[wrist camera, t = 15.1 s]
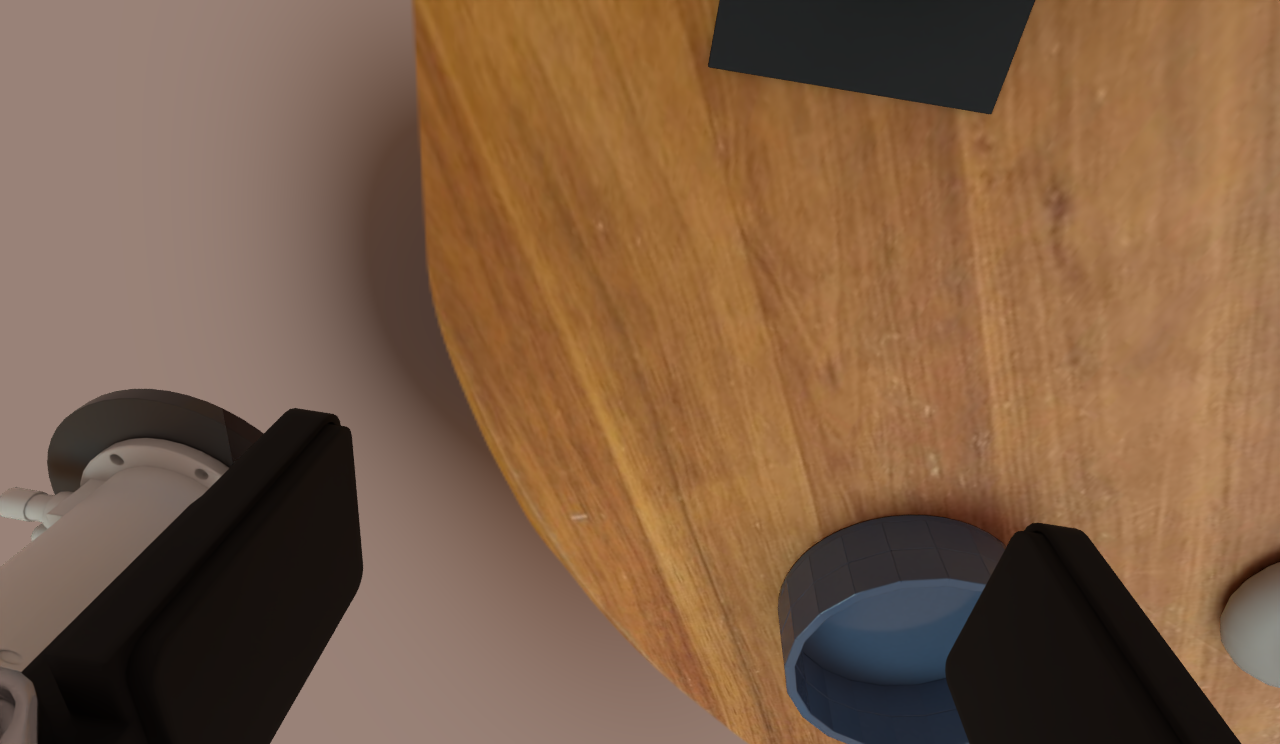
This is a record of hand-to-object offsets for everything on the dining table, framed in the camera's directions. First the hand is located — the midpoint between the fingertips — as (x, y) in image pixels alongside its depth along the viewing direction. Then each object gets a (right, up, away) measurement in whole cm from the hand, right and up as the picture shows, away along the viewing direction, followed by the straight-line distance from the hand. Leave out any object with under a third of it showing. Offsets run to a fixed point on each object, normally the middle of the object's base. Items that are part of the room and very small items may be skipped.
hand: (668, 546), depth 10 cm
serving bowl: (+16, -12, +33) cm, 39 cm away
